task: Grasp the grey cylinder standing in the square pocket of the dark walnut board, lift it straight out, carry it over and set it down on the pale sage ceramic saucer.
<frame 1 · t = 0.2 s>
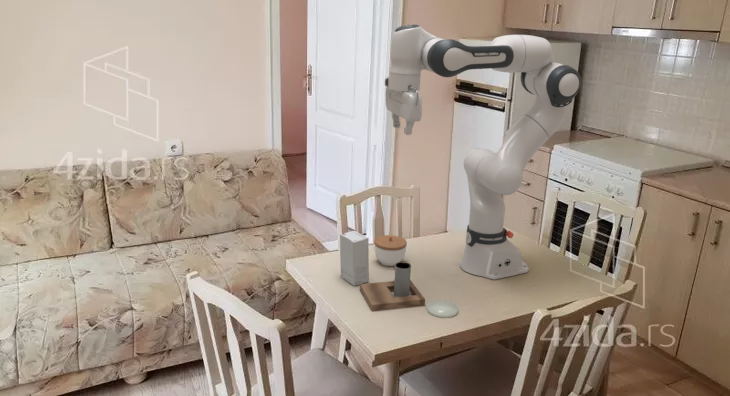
hand: (401, 130, 175), 47 cm above the table, fingers open, 8 cm apart
pocket board: (391, 297, 177), on the table
grey cylinder: (401, 297, 177), resting in pocket board
saucer: (442, 309, 171), on the table
skincare box: (353, 280, 187), on the table
lidded jar: (389, 262, 200), on the table
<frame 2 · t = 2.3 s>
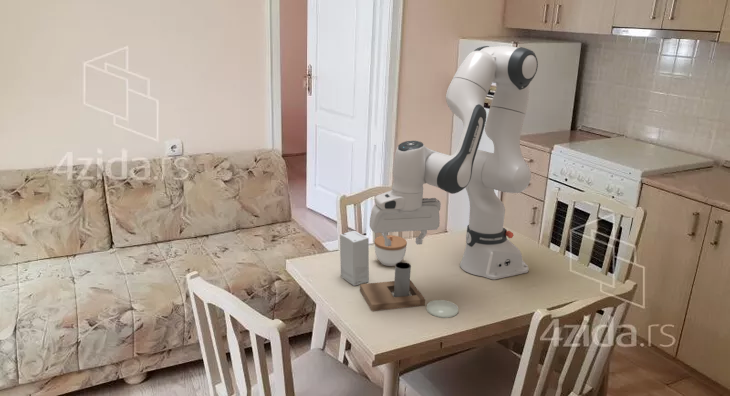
hand: (403, 244, 172), 17 cm above the table, fingers open, 8 cm apart
nothing on the table moved.
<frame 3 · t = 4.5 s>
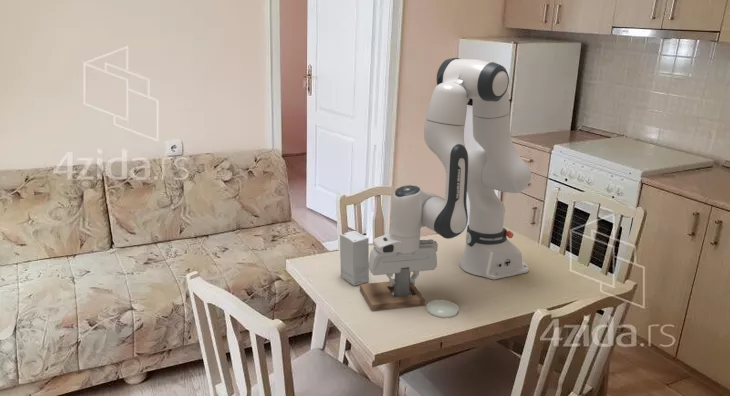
hand: (401, 284, 176), 4 cm above the table, fingers closed on grey cylinder, 4 cm apart
grey cylinder: (401, 297, 177), resting in pocket board, touching gripper
everything else where it was.
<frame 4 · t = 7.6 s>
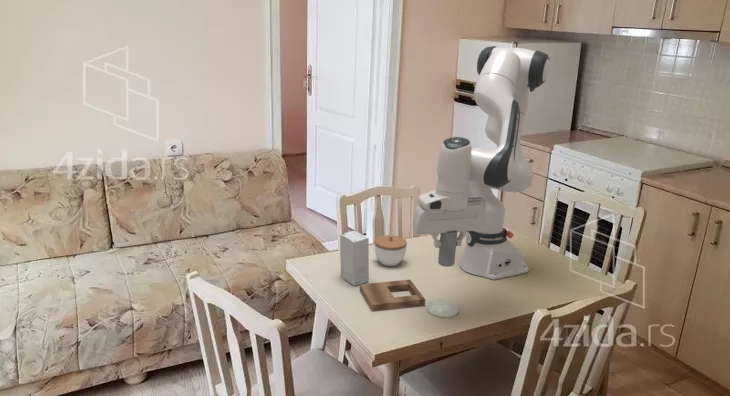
hand: (447, 246, 164), 20 cm above the table, fingers closed on grey cylinder, 5 cm apart
grey cylinder: (446, 264, 166), point 14 cm above the table, touching gripper
everything else where it was.
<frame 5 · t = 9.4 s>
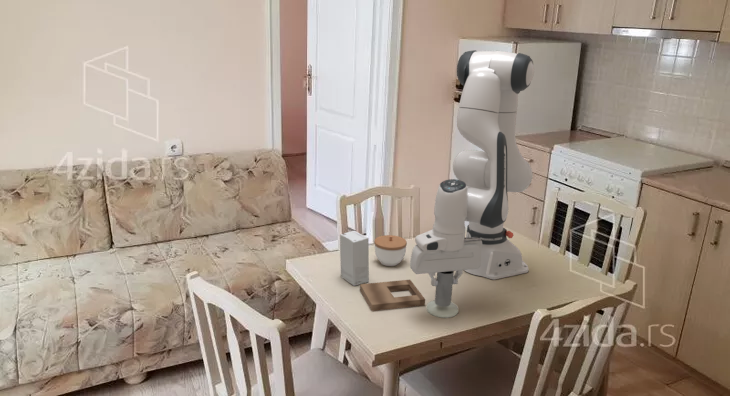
hand: (444, 284, 168), 8 cm above the table, fingers closed on grey cylinder, 5 cm apart
grey cylinder: (442, 303, 170), point 2 cm above the table, touching gripper
everything else where it was.
when the fingers open (6 cm above the table, at t = 10.7 s): grey cylinder stays where it is, resting on saucer.
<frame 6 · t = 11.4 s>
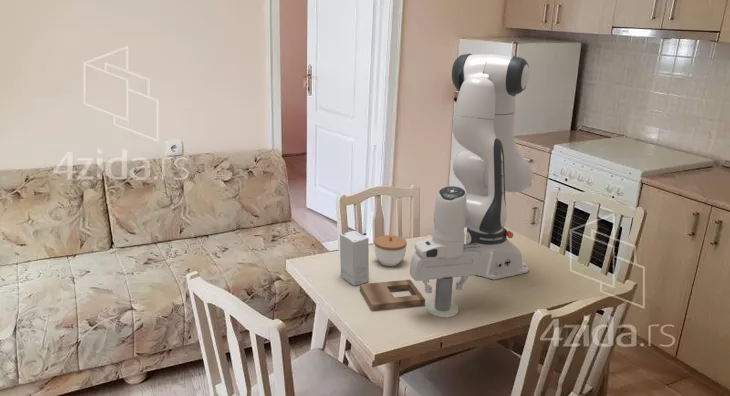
hand: (443, 290, 169), 6 cm above the table, fingers open, 8 cm apart
grey cylinder: (442, 308, 170), point 1 cm above the table, touching saucer
everything else where it was.
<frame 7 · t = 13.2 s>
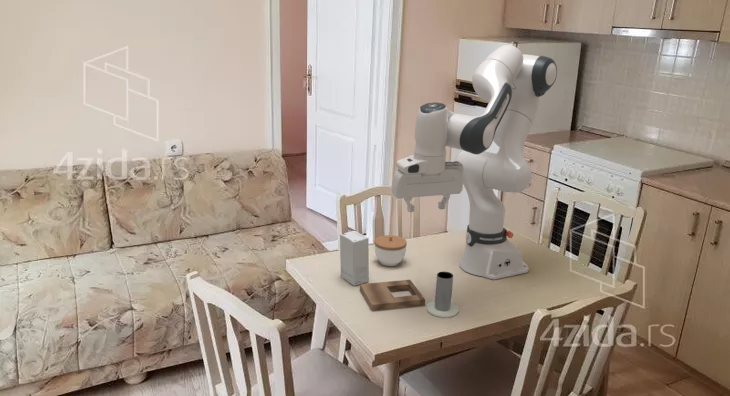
hand: (426, 210, 168), 28 cm above the table, fingers open, 8 cm apart
nothing on the table moved.
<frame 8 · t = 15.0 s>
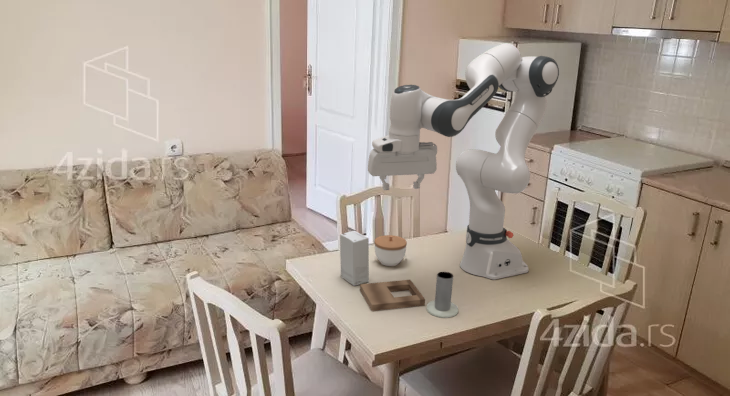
hand: (401, 188, 175), 31 cm above the table, fingers open, 8 cm apart
nothing on the table moved.
at the end: grey cylinder 0.1 cm off-centre on the saucer, point 0.6 cm above the saucer's base; grey cylinder tilted 0°; the gripper is holding nothing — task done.
